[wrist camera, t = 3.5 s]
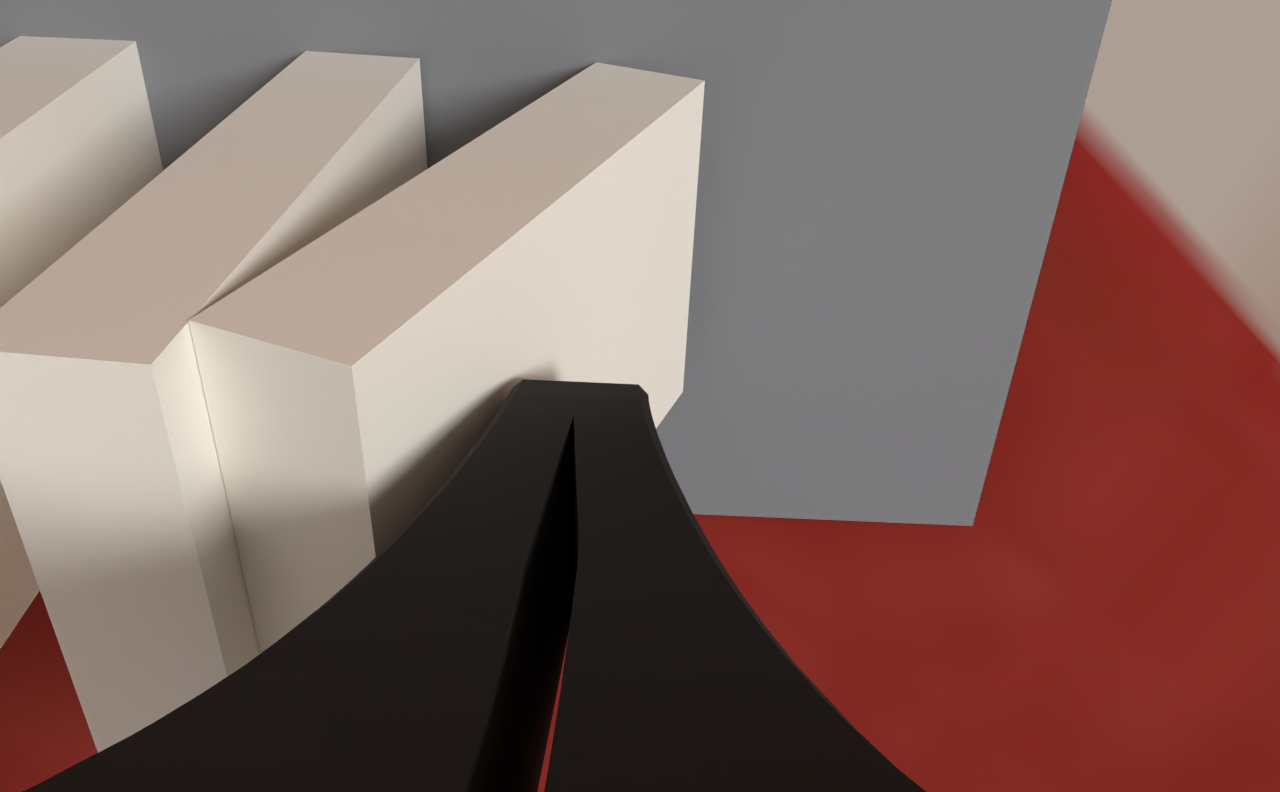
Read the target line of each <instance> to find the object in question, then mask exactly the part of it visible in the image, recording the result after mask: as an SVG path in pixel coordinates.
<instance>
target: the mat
mask: <svg viewBox="0 0 1280 792" xmlns="http://www.w3.org/2000/svg"><path fill="white" fill-rule="evenodd" d="M1111 1H1112V0H0V47H2V46H3V45H5V44H7V43H9V42H10V41H12V40H14V39H15V38H17V37H19V36H32V37H55V38H78V39H101V40H124V41H136V45H137V49H138V54H139V59H140V64H141V68H142V73H143V78H144V82H145V87H146V92H147V96H148V101H149V106H150V110H151V115H152V120H153V125H154V129H155V134H156V139H157V143H158V148H159V153H160V157H161V162H162V167H163V171H164V170H165V169H166V168H167V167H168V166H170V165H171V164H172V163H173V162H174V161H176V160H177V159H178V158H179V157H180V156H182V155H183V154H184V153H185V152H186V151H187V150H189V149H190V148H191V147H192V146H193V145H195V144H196V143H197V142H198V141H199V140H201V139H202V138H203V137H204V136H205V135H206V134H208V133H209V132H210V131H211V130H212V129H214V128H215V127H216V126H217V125H218V124H219V123H221V122H222V121H223V120H224V119H225V118H227V117H228V116H229V115H230V114H231V113H233V112H234V111H235V110H236V109H237V108H238V107H240V106H241V105H242V104H243V103H244V102H246V101H247V100H248V99H249V98H250V97H252V96H253V95H254V94H255V93H256V92H257V91H259V90H260V89H261V88H262V87H263V86H265V85H266V84H267V83H268V82H269V81H271V80H272V79H273V78H274V77H275V76H276V75H278V74H279V73H280V72H281V71H282V70H284V69H285V68H286V67H287V66H288V65H290V64H291V63H292V62H293V61H294V60H295V59H297V58H298V57H299V56H300V55H301V54H303V53H304V52H305V51H317V52H332V53H347V54H361V55H376V56H391V57H406V58H420V71H421V85H422V98H423V112H424V126H425V139H426V153H427V167H428V168H430V167H431V166H433V165H435V164H436V163H438V162H439V161H441V160H443V159H444V158H446V157H447V156H449V155H450V154H452V153H454V152H455V151H457V150H458V149H460V148H461V147H463V146H465V145H466V144H468V143H469V142H471V141H473V140H474V139H476V138H477V137H479V136H480V135H482V134H484V133H485V132H487V131H488V130H490V129H492V128H493V127H495V126H496V125H498V124H499V123H501V122H503V121H504V120H506V119H507V118H509V117H510V116H512V115H514V114H515V113H517V112H518V111H520V110H522V109H523V108H525V107H526V106H528V105H529V104H531V103H533V102H534V101H536V100H537V99H539V98H541V97H542V96H544V95H545V94H547V93H548V92H550V91H552V90H553V89H555V88H556V87H558V86H560V85H561V84H563V83H564V82H566V81H567V80H569V79H571V78H572V77H574V76H575V75H577V74H578V73H580V72H582V71H583V70H585V69H586V68H588V67H590V66H591V65H593V64H594V63H596V62H598V63H604V64H610V65H616V66H622V67H628V68H634V69H640V70H646V71H652V72H657V73H663V74H669V75H675V76H681V77H687V78H693V79H699V80H705V86H704V100H703V114H702V129H701V143H700V157H699V171H698V185H697V199H696V213H695V227H694V242H693V256H692V270H691V284H690V298H689V312H688V326H687V341H686V355H685V369H684V383H683V392H682V394H681V395H680V396H679V398H678V399H677V401H676V402H675V403H674V405H673V406H672V407H671V409H670V410H669V412H668V413H667V414H666V416H665V417H664V418H663V420H662V421H661V423H660V424H659V425H658V427H657V428H656V431H657V434H658V437H659V439H660V442H661V444H662V447H663V450H664V452H665V455H666V457H667V460H668V462H669V465H670V467H671V469H672V471H673V474H674V476H675V478H676V480H677V482H678V484H679V486H680V488H681V490H682V492H683V494H684V496H685V498H686V501H687V503H688V505H689V507H690V509H691V511H692V513H693V514H706V515H729V516H752V517H776V518H799V519H823V520H846V521H870V522H893V523H917V524H940V525H963V526H973V522H974V518H975V514H976V511H977V507H978V503H979V499H980V495H981V492H982V488H983V484H984V480H985V477H986V473H987V469H988V465H989V462H990V458H991V454H992V450H993V446H994V443H995V439H996V435H997V431H998V428H999V424H1000V420H1001V416H1002V413H1003V409H1004V405H1005V401H1006V398H1007V394H1008V390H1009V386H1010V382H1011V379H1012V375H1013V371H1014V367H1015V364H1016V360H1017V356H1018V352H1019V348H1020V345H1021V341H1022V337H1023V333H1024V330H1025V326H1026V322H1027V318H1028V315H1029V311H1030V307H1031V303H1032V300H1033V296H1034V292H1035V288H1036V284H1037V281H1038V277H1039V273H1040V269H1041V266H1042V262H1043V258H1044V254H1045V251H1046V247H1047V243H1048V239H1049V235H1050V232H1051V228H1052V224H1053V220H1054V217H1055V213H1056V209H1057V205H1058V202H1059V198H1060V194H1061V190H1062V186H1063V183H1064V179H1065V175H1066V171H1067V168H1068V164H1069V160H1070V156H1071V153H1072V149H1073V145H1074V141H1075V137H1076V134H1077V130H1078V126H1079V122H1080V119H1081V115H1082V111H1083V107H1084V104H1085V99H1086V96H1087V92H1088V88H1089V84H1090V81H1091V77H1092V73H1093V70H1094V65H1095V62H1096V58H1097V54H1098V51H1099V47H1100V43H1101V39H1102V36H1103V32H1104V28H1105V24H1106V21H1107V17H1108V13H1109V9H1110V5H1111Z"/></svg>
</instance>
